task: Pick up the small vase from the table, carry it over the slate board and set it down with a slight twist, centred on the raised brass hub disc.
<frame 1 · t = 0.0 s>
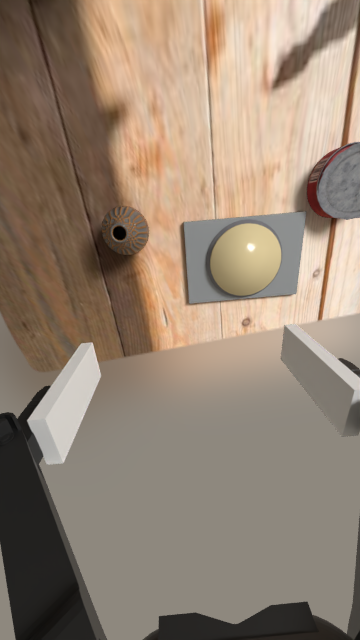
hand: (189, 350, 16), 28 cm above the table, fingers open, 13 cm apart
canned food: (336, 185, 38), on the table
vase: (129, 230, 39), on the table
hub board: (242, 259, 42), on the table
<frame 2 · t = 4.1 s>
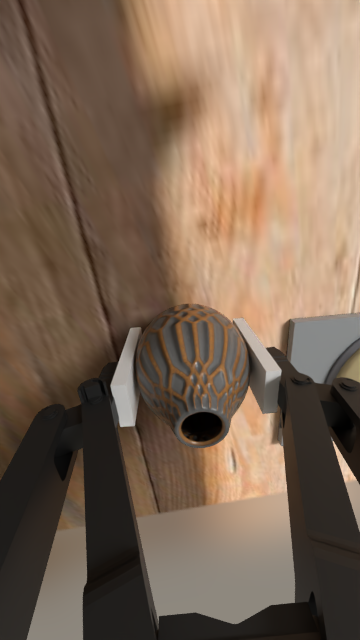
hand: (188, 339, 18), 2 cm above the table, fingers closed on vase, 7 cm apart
vase: (187, 333, 18), point 2 cm above the table, touching gripper
when the fingers open (2 cm above the table, at t = 9.2 s): vase stays where it is, resting on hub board.
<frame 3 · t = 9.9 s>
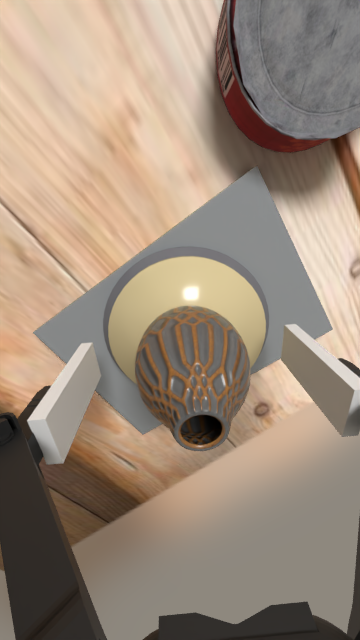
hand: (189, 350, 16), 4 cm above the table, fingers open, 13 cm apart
canned food: (299, 53, 14), on the table
vase: (187, 335, 18), point 2 cm above the table, touching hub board
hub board: (186, 326, 20), on the table
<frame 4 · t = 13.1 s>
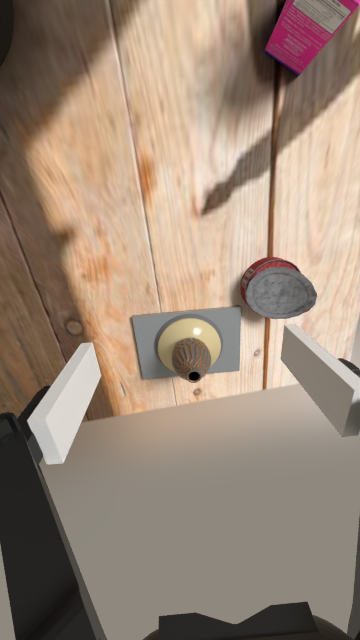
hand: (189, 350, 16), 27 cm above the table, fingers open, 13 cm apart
supplement box: (292, 38, 30), on the table
canned food: (266, 284, 43), on the table
vase: (189, 347, 45), point 2 cm above the table, touching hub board
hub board: (188, 343, 47), on the table
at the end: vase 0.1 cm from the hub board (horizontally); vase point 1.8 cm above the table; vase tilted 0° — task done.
